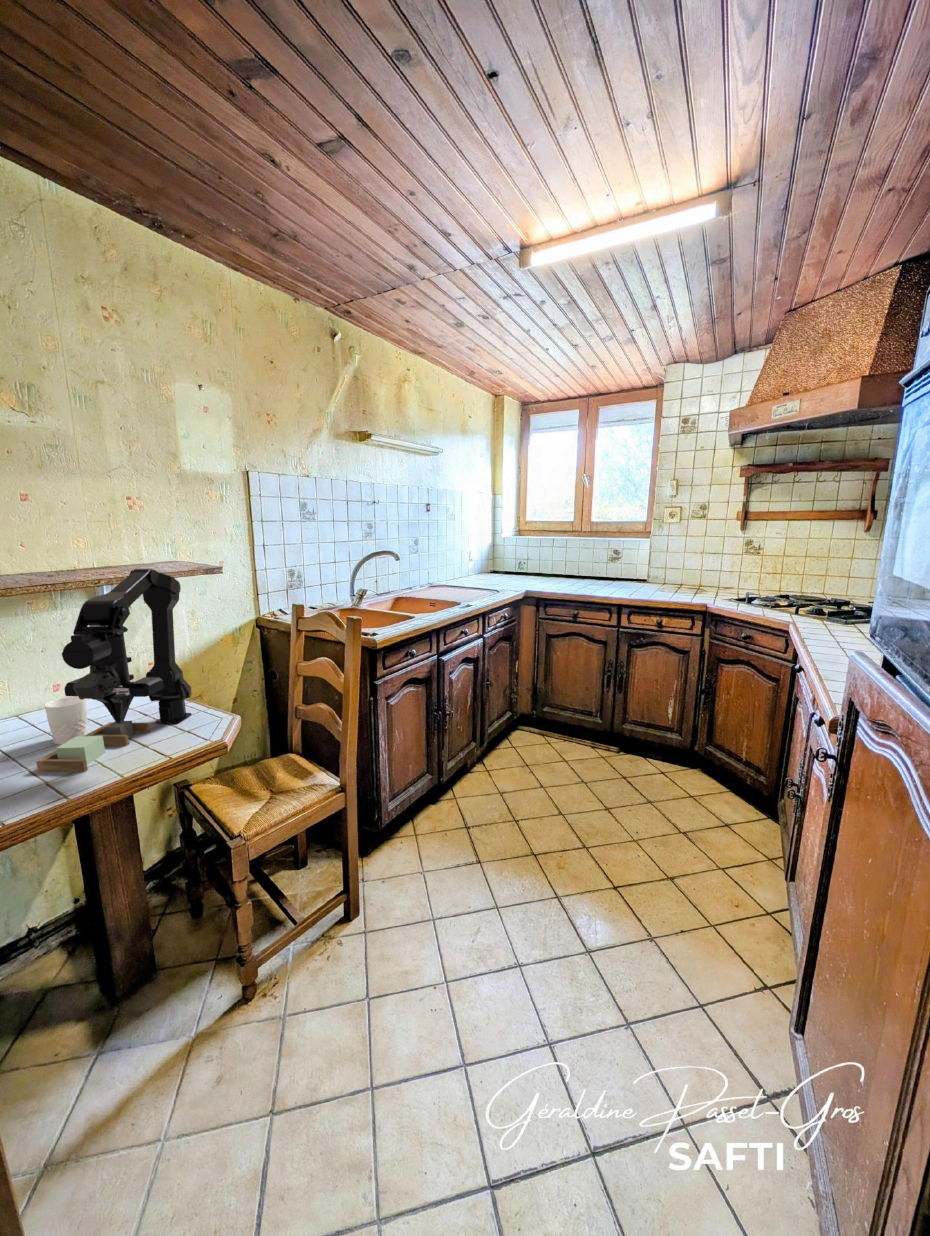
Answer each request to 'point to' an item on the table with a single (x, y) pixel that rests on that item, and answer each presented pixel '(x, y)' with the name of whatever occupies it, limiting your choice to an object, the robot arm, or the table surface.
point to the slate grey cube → (120, 729)
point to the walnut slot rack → (68, 765)
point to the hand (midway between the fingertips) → (120, 722)
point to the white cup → (67, 718)
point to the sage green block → (82, 748)
